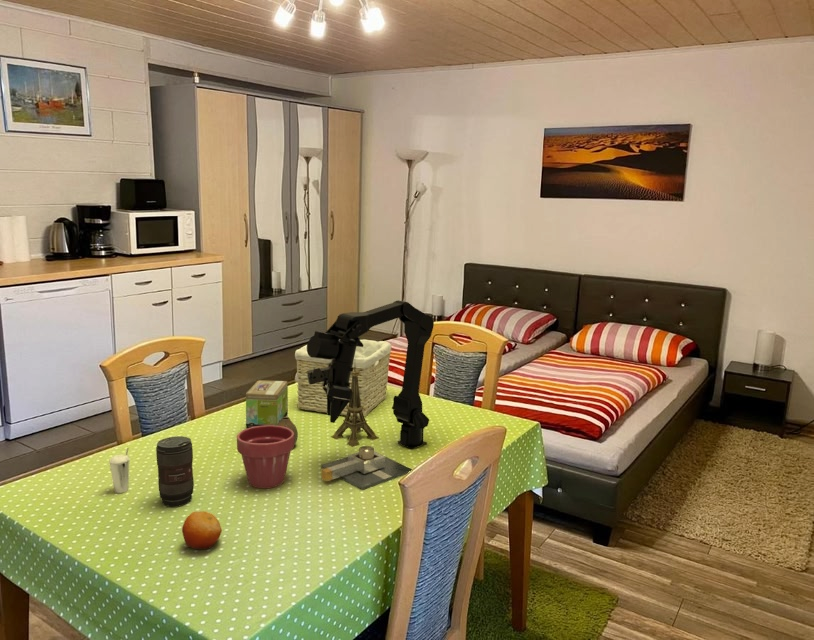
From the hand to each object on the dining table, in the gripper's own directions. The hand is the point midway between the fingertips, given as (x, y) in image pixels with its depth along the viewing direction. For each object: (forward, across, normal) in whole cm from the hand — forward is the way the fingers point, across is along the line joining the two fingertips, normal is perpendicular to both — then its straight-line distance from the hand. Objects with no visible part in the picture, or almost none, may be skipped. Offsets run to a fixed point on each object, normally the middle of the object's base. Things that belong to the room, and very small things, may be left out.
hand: (330, 418), depth 172 cm
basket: (+5, -57, +12) cm, 59 cm away
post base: (+12, -1, +12) cm, 17 cm away
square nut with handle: (+12, +2, +8) cm, 15 cm away
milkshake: (+26, +1, -47) cm, 54 cm away
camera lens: (+24, +9, -34) cm, 42 cm away
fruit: (+25, +31, -25) cm, 47 cm away
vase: (+14, -21, -8) cm, 27 cm away
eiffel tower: (+9, -25, +12) cm, 29 cm away
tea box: (+14, -34, -14) cm, 39 cm away
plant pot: (+18, +2, -13) cm, 23 cm away
